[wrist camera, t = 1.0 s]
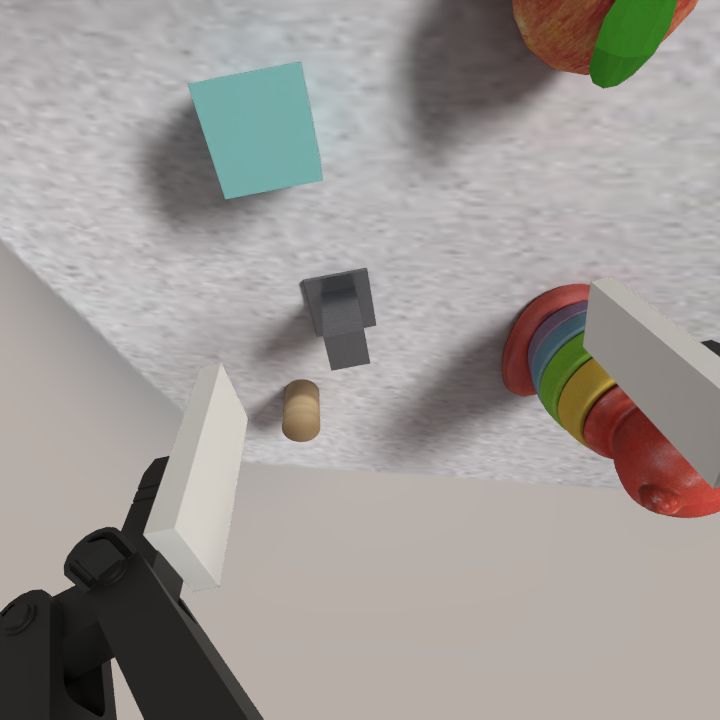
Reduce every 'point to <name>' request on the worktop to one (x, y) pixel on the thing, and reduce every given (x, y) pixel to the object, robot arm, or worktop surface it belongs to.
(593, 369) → the stacking bear
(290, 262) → the worktop surface
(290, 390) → the oak stub
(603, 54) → the fruit
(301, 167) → the teal rectangular prism
